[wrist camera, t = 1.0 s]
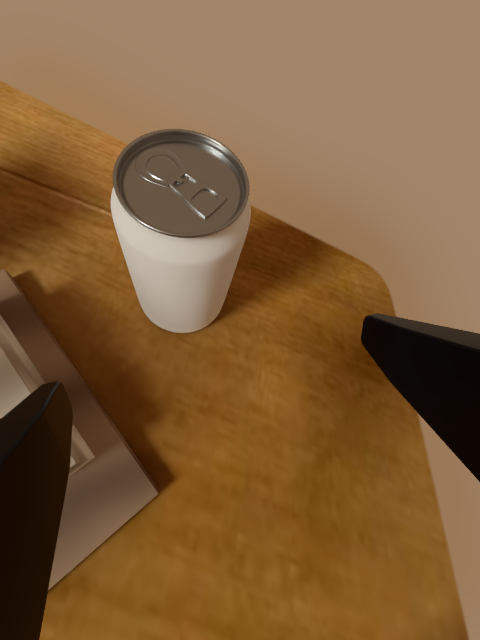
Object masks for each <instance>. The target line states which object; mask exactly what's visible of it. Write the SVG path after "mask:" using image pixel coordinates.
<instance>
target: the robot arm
mask: <svg viewBox="0 0 480 640" xmlns="http://www.w3.org/2000/svg"><path fill="white" fill-rule="evenodd" d="M361 342H362V344H363V346H364V347H365V349H366V350H367V351H368V353H369V354H370V356H371V357H372V358H373V360H374V361H375V362H376V364H377V365H378V366H379V368H380V369H381V370H382V372H383V373H384V375H385V376H386V377H387V378H388V380H389V381H390V382H391V383H392V384H393V386H394V387H395V388H396V389H397V390H398V391H399V392H400V393H401V395H402V396H403V397H404V398H405V399H406V400H407V401H408V402H409V403H410V405H411V406H412V407H413V408H414V409H415V410H416V411H417V412H418V414H419V415H420V416H421V417H422V418H423V419H424V420H425V421H426V422H427V423H428V425H429V426H430V427H431V428H432V429H433V430H434V431H435V432H436V434H437V435H438V436H439V437H440V438H441V439H442V440H443V441H444V442H445V444H446V445H447V446H448V447H449V448H450V449H451V450H452V451H453V453H454V454H455V455H456V456H457V457H458V458H459V459H460V460H461V461H462V463H463V464H464V465H465V466H466V467H467V468H468V469H469V470H470V471H471V473H472V474H473V475H474V476H475V477H476V478H477V479H478V480H479V482H480V334H478V333H473V332H468V331H463V330H458V329H453V328H448V327H443V326H438V325H433V324H428V323H423V322H418V321H413V320H408V319H403V318H398V317H393V316H388V315H384V314H372V315H368V316H366V317H365V318H364V321H363V328H362V334H361ZM72 422H73V410H72V405H71V403H70V400H69V398H68V395H67V393H66V390H65V388H64V385H63V384H62V382H60V381H55V382H50V383H45V384H42V385H41V386H39V387H38V388H37V389H36V390H35V391H33V392H32V393H31V394H30V395H29V396H27V397H26V398H25V399H24V400H23V401H21V402H20V403H19V404H18V405H17V406H15V407H14V408H13V409H12V410H11V411H9V412H8V413H7V414H6V415H5V416H3V417H2V418H1V419H0V640H39V637H40V632H41V626H42V621H43V615H44V610H45V604H46V599H47V593H48V588H49V582H50V577H51V571H52V566H53V560H54V555H55V549H56V544H57V538H58V533H59V527H60V522H61V516H62V511H63V505H64V500H65V494H66V489H67V483H68V477H69V471H70V460H71V441H72Z"/></svg>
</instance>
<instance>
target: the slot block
mask: <svg viewBox="0 0 480 640" xmlns="http://www.w3.org/2000/svg"><path fill="white" fill-rule="evenodd" d="M55 381H60V382H62V384H63V385H64V388H65V390H66V393H67V395H68V398H69V400H70V403H71V405H72V410H73V422H72V441H71V460H70V471H69V477H68V483H67V489H66V494H65V500H64V505H63V511H62V516H61V522H60V527H59V533H58V538H57V544H56V549H55V555H54V560H53V566H52V571H51V577H50V582H49V588H48V590H49V589H50V588H52V587H53V586H54V585H55V584H56V583H57V582H58V581H60V580H61V579H62V578H63V577H64V576H65V575H66V574H68V573H69V572H70V571H71V570H72V569H73V568H74V567H76V566H77V565H78V564H79V563H80V562H81V561H82V560H83V559H85V558H86V557H87V556H88V555H89V554H90V553H91V552H93V551H94V550H95V549H96V548H97V547H98V546H99V545H101V544H102V543H103V542H104V541H105V540H106V539H107V538H109V537H110V536H111V535H112V534H113V533H114V532H115V531H117V530H118V529H119V528H120V527H121V526H122V525H123V524H125V523H126V522H127V521H128V520H129V519H130V518H131V517H133V516H134V515H135V514H136V513H137V512H138V511H139V510H140V509H142V508H143V507H144V506H145V505H146V504H147V503H148V502H150V501H151V500H152V499H153V498H154V497H155V496H156V495H158V493H159V491H160V490H159V489H158V487H157V486H156V484H155V483H154V481H153V480H152V478H151V477H150V475H149V474H148V473H147V471H146V470H145V468H144V467H143V465H142V464H141V462H140V461H139V460H138V458H137V457H136V455H135V454H134V452H133V451H132V449H131V448H130V446H129V445H128V444H127V442H126V441H125V439H124V438H123V436H122V435H121V433H120V432H119V431H118V429H117V428H116V426H115V425H114V423H113V422H112V420H111V419H110V417H109V416H108V415H107V413H106V412H105V410H104V409H103V407H102V406H101V404H100V403H99V402H98V400H97V399H96V397H95V396H94V394H93V393H92V391H91V390H90V389H89V387H88V386H87V384H86V383H85V381H84V380H83V378H82V377H81V375H80V374H79V373H78V371H77V370H76V368H75V367H74V365H73V364H72V362H71V361H70V360H69V358H68V357H67V355H66V354H65V352H64V351H63V349H62V348H61V346H60V345H59V344H58V342H57V341H56V339H55V338H54V336H53V335H52V333H51V332H50V331H49V329H48V328H47V326H46V325H45V323H44V322H43V320H42V319H41V317H40V316H39V315H38V313H37V312H36V310H35V309H34V307H33V306H32V304H31V303H30V302H29V300H28V299H27V297H26V296H25V294H24V293H23V291H22V290H21V289H20V287H19V286H18V284H17V283H16V281H15V280H14V278H13V277H12V276H11V275H10V274H9V273H8V272H6V271H5V270H4V269H2V270H0V419H1V418H2V417H3V416H5V415H6V414H7V413H8V412H9V411H11V410H12V409H13V408H14V407H15V406H17V405H18V404H19V403H20V402H21V401H23V400H24V399H25V398H26V397H27V396H29V395H30V394H31V393H32V392H33V391H35V390H36V389H37V388H38V387H39V386H41V385H42V384H45V383H50V382H55Z"/></svg>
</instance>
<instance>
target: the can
mask: <svg viewBox="0 0 480 640" xmlns="http://www.w3.org/2000/svg"><path fill="white" fill-rule="evenodd" d="M113 185H114V187H113V190H112V195H111V212H112V217H113V221H114V225H115V228H116V232H117V235H118V238H119V241H120V245H121V248H122V251H123V254H124V257H125V260H126V263H127V266H128V269H129V272H130V275H131V279H132V282H133V285H134V288H135V291H136V294H137V297H138V299H139V302H140V305H141V307H142V309H143V311H144V313H145V314H146V316H147V317H148V318H149V319H150V320H151V321H152V322H153V323H154V324H156V325H157V326H159V327H160V328H162V329H165V330H167V331H171V332H176V333H188V332H194V331H197V330H200V329H202V328H204V327H206V326H207V325H209V324H210V323H211V322H212V321H213V320H214V319H215V318H216V317H217V316H218V314H219V312H220V311H221V308H222V306H223V303H224V301H225V298H226V295H227V292H228V289H229V286H230V283H231V281H232V278H233V275H234V272H235V269H236V266H237V263H238V260H239V257H240V254H241V251H242V248H243V245H244V242H245V238H246V235H247V232H248V228H249V224H250V216H251V209H250V202H249V198H248V197H249V181H248V177H247V173H246V171H245V169H244V167H243V165H242V163H241V162H240V160H239V159H238V158H237V156H236V155H235V154H234V153H233V152H232V151H231V150H230V149H229V148H227V147H226V146H225V145H223V144H222V143H220V142H219V141H217V140H215V139H213V138H211V137H209V136H207V135H204V134H201V133H198V132H195V131H190V130H183V129H166V130H158V131H154V132H150V133H148V134H145V135H143V136H140V137H139V138H137V139H135V140H134V141H132V142H131V143H130V144H128V145H127V146H126V147H125V148H124V150H123V151H122V152H121V153H120V155H119V157H118V158H117V161H116V163H115V166H114V171H113Z"/></svg>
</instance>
